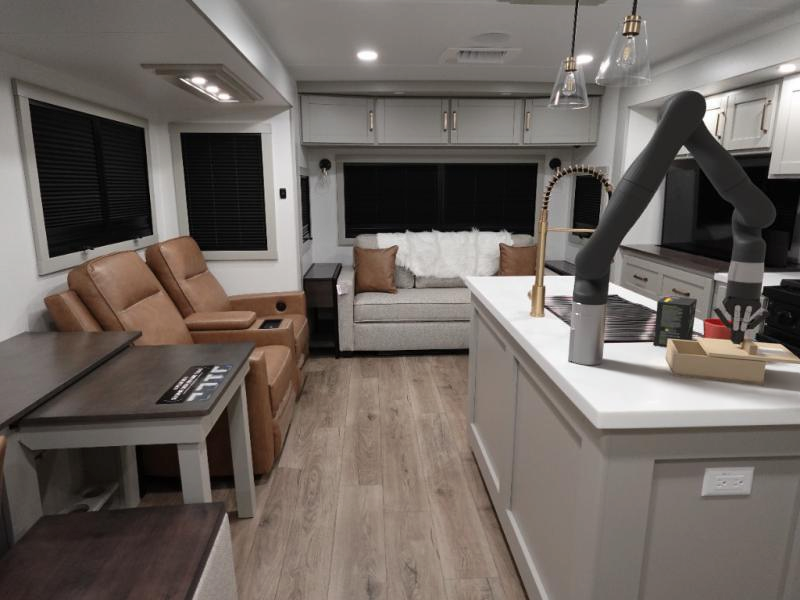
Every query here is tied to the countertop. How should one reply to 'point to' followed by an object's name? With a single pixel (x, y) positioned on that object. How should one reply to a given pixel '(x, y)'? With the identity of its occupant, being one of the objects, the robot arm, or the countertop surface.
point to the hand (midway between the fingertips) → (736, 343)
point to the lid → (748, 350)
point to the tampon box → (674, 319)
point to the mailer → (711, 364)
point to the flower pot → (716, 329)
